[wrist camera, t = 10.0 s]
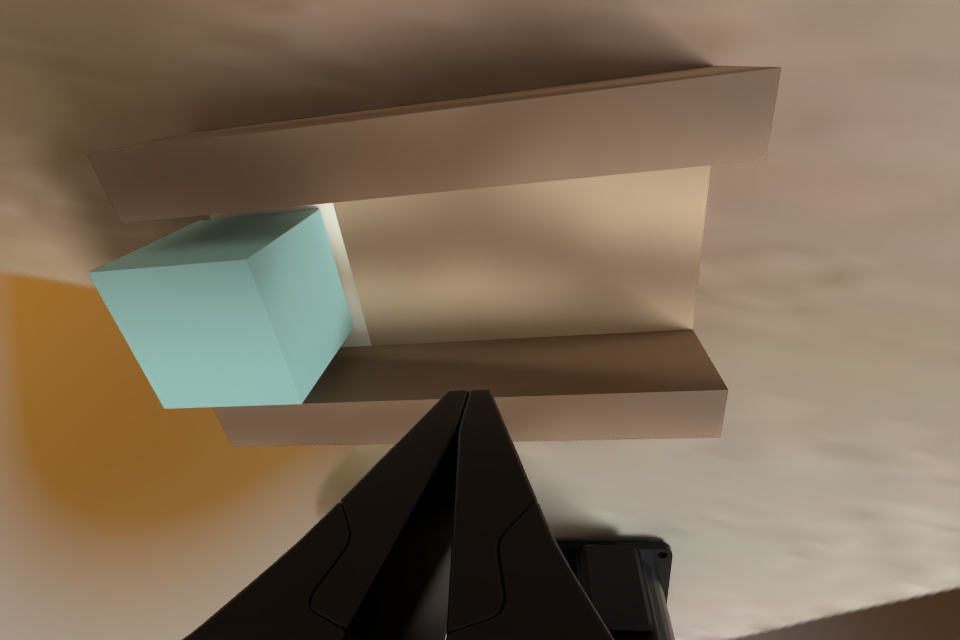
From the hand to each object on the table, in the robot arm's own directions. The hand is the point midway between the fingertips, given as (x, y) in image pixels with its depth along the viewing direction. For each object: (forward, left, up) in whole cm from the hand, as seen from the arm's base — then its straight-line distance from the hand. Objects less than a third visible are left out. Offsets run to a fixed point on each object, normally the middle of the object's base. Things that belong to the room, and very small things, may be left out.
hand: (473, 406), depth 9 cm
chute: (0, +2, -10) cm, 10 cm away
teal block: (0, +9, -9) cm, 13 cm away
